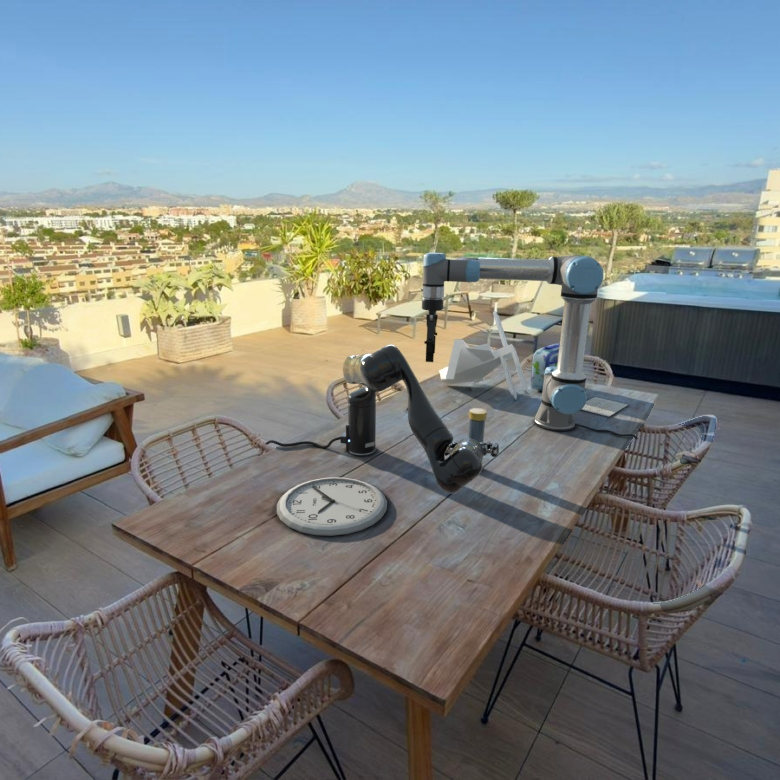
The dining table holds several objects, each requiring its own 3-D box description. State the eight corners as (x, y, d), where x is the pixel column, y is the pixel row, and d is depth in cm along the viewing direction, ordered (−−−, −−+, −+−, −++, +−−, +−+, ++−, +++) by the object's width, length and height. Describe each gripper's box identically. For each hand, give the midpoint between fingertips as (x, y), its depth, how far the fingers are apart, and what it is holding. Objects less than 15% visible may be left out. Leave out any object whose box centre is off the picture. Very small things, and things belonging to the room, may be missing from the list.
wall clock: (392, 527, 129) (268, 531, 127) (391, 533, 130) (269, 537, 127) (383, 473, 158) (282, 475, 155) (383, 478, 158) (282, 480, 156)
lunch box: (547, 395, 239) (552, 351, 233) (526, 390, 247) (530, 347, 240) (574, 384, 257) (579, 343, 251) (554, 380, 264) (558, 339, 258)
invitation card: (608, 416, 214) (573, 407, 224) (608, 416, 214) (573, 408, 224) (628, 404, 229) (594, 396, 238) (628, 405, 229) (594, 397, 238)
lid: (475, 421, 157) (476, 414, 157) (465, 416, 162) (465, 409, 161) (489, 419, 160) (490, 412, 159) (479, 413, 164) (479, 407, 164)
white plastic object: (461, 429, 252) (437, 405, 227) (444, 352, 274) (420, 323, 250) (535, 404, 240) (518, 377, 215) (510, 326, 262) (492, 293, 237)
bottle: (472, 473, 163) (476, 415, 157) (463, 467, 167) (467, 411, 161) (484, 470, 165) (488, 413, 159) (475, 464, 169) (479, 409, 163)
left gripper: (495, 441, 127) (499, 431, 143) (438, 440, 131) (447, 430, 147) (496, 471, 128) (499, 458, 143) (438, 469, 131) (448, 457, 147)
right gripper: (424, 293, 195) (422, 349, 202) (419, 302, 172) (417, 365, 178) (444, 294, 195) (441, 350, 201) (442, 303, 171) (439, 366, 177)
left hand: (473, 444), depth 145 cm, fingers open, 8 cm apart
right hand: (430, 357), depth 190 cm, fingers open, 13 cm apart
